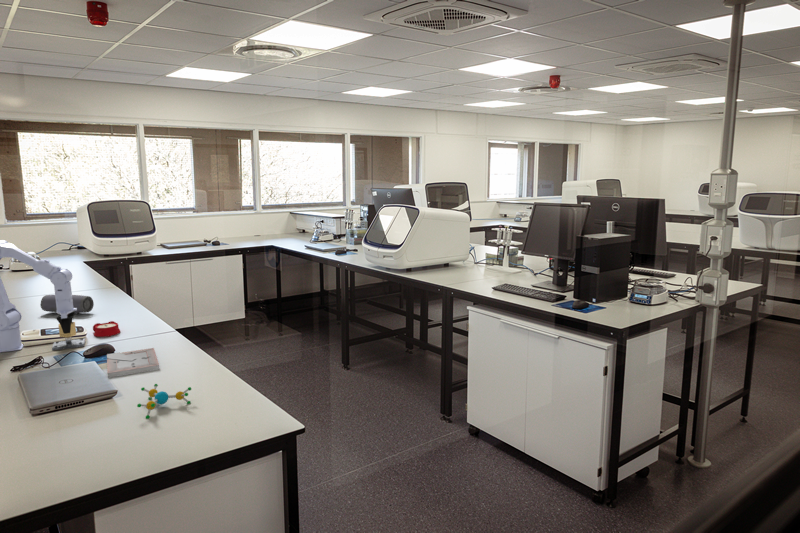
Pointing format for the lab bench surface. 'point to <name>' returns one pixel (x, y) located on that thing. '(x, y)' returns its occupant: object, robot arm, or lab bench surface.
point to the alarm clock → (106, 329)
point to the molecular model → (161, 398)
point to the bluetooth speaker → (79, 302)
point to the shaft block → (68, 344)
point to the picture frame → (131, 362)
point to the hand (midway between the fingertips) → (67, 331)
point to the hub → (72, 331)
